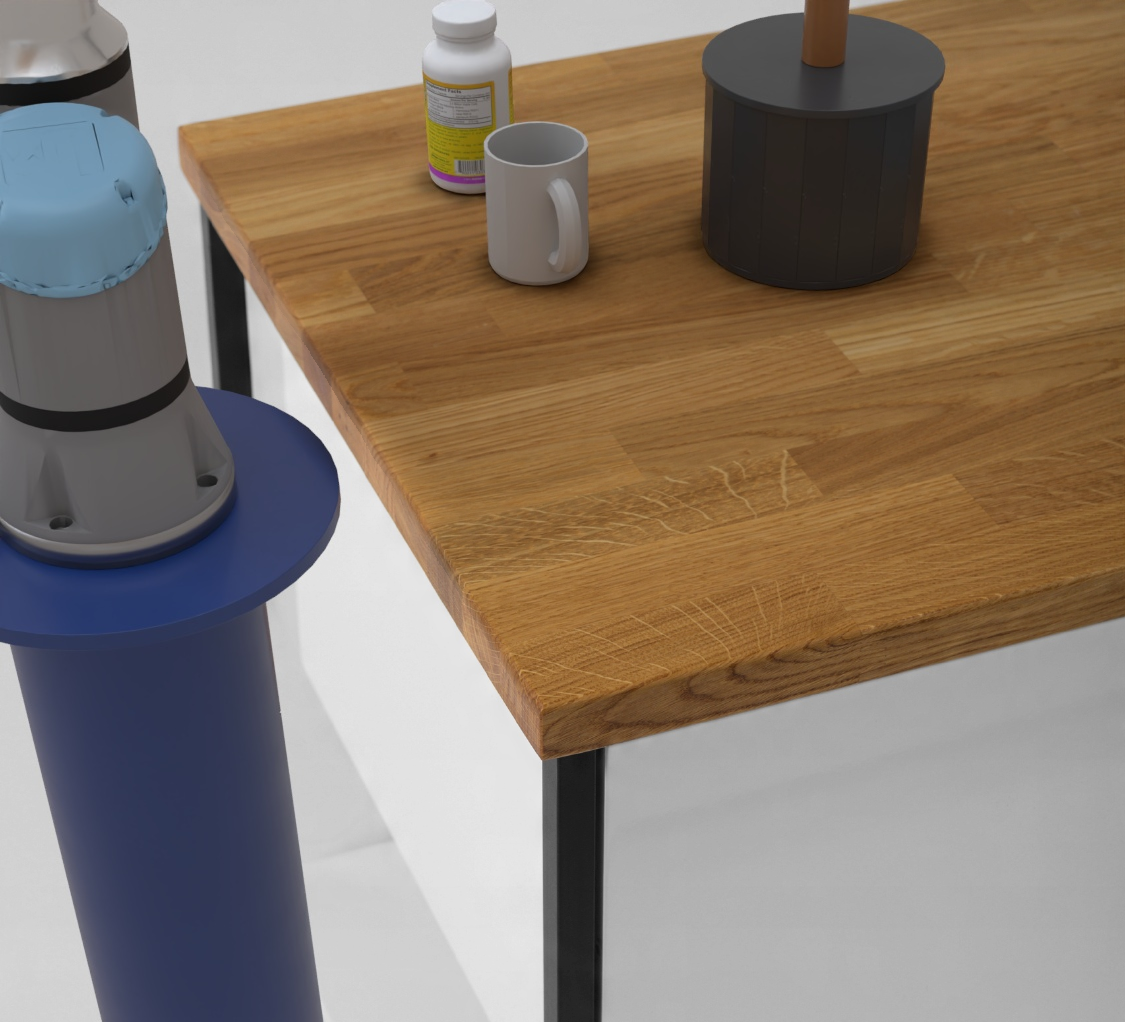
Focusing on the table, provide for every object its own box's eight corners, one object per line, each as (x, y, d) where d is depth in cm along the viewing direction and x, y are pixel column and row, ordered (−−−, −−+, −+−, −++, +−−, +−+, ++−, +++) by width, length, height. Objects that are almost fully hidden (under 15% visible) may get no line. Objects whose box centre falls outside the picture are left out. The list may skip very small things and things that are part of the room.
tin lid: (784, 148, 136) (794, -11, 129) (657, 58, 147) (659, -93, 140) (992, 94, 142) (1012, -60, 135) (854, 11, 153) (866, -136, 146)
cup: (563, 231, 154) (561, 113, 148) (622, 291, 147) (623, 170, 141) (472, 251, 152) (467, 133, 146) (528, 313, 145) (525, 192, 139)
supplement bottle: (470, 150, 164) (463, -16, 155) (533, 174, 161) (529, 6, 152) (410, 180, 160) (399, 12, 152) (474, 205, 157) (466, 35, 148)
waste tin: (776, 311, 145) (787, 135, 136) (662, 218, 155) (665, 50, 146) (961, 257, 150) (982, 85, 141) (838, 172, 160) (851, 6, 152)
